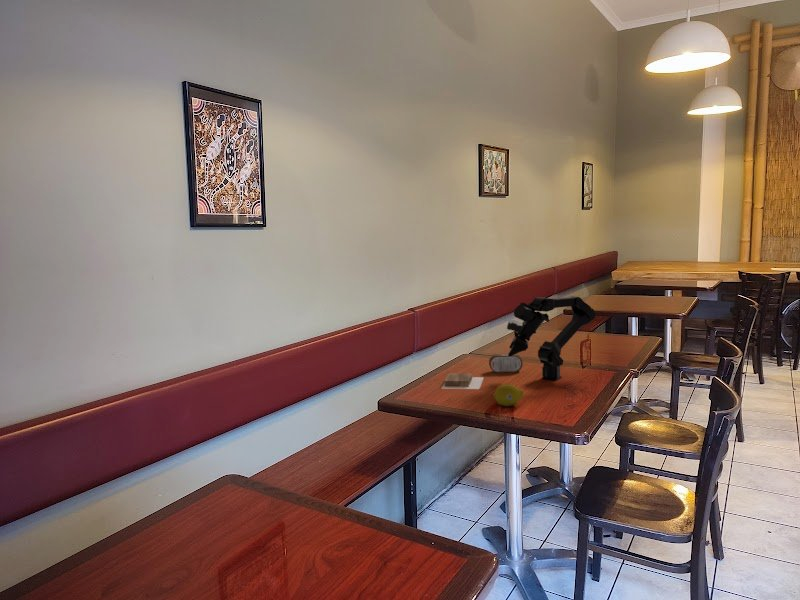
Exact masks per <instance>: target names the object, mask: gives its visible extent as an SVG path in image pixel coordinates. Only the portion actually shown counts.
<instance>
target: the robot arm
mask: <svg viewBox="0 0 800 600" xmlns="http://www.w3.org/2000/svg"><path fill="white" fill-rule="evenodd" d="M566 307H567V308H568V307H570V308H571V309H570V310H571V312H573V313H572V317H571V320H570V321H569V322H568V324H566V326H565V327H563V329H562V330H561V331H560V332H559V333H558V335H556V336H555V338H553V340H552V341H548V340H545V341H544V342H543V343H542V344H541V345H540V346H538V348H539V349H538V350H537V357H538V359H539V361H540V363H541V364H542V367H541V372H542V377H541V379H542V380H550V381H558V380H560V379H561V378H563V376H562V375H561V366H563V363H564V359H563V358H562V357H561V352H562V349H563V347H564V346H565V345H567V343H568V342H569V341H570V340H571V339H572V338H573V336H575V334H576V333H577V332H578V331H579V330H580V329H581V328H582V327H584V326H586V325H588V324H590V323H591V322H593V321H594V320H595V318H596V312H595V309H594V308H592V307H591V305H590V304H588V303H587V302H585V301H584V299H582V298H581V297H580V296H574V295H572V296H566V297H556V298H555V297H554V298H550V297H549V298H548V297H543V296H542V297H541V296H536V297H534V298H533V300H532V301H530V303H528V304H527V303H526V302H523V301H521V302H520V304H519V305H517V306H516V307H515V309H513V310H514V311H513V316H514V317H515V318H516V319H519V320H520V321H518V320H515V319H510V318H509V320H508V323H507V326H506V330H509V331H513V332H514V336H513V339H512V341H511V343H510V345H509V348H510V351H509V353H507V354H508V356H512V355H514V354H517V355H518V354H519V353H521V352H526V350H528V348H529V342H530V341H531V337H532V336H533V335H535V334H536V333H537V330H538V329H539V328H540V327H541V325H542V324H544V321H545V322H547V323H549V322H550V317H549V314H548V313H547V312H551V311H553V310H555V309H558V308H566ZM542 312H544V313H542ZM521 321H522V322H521Z"/></svg>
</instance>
